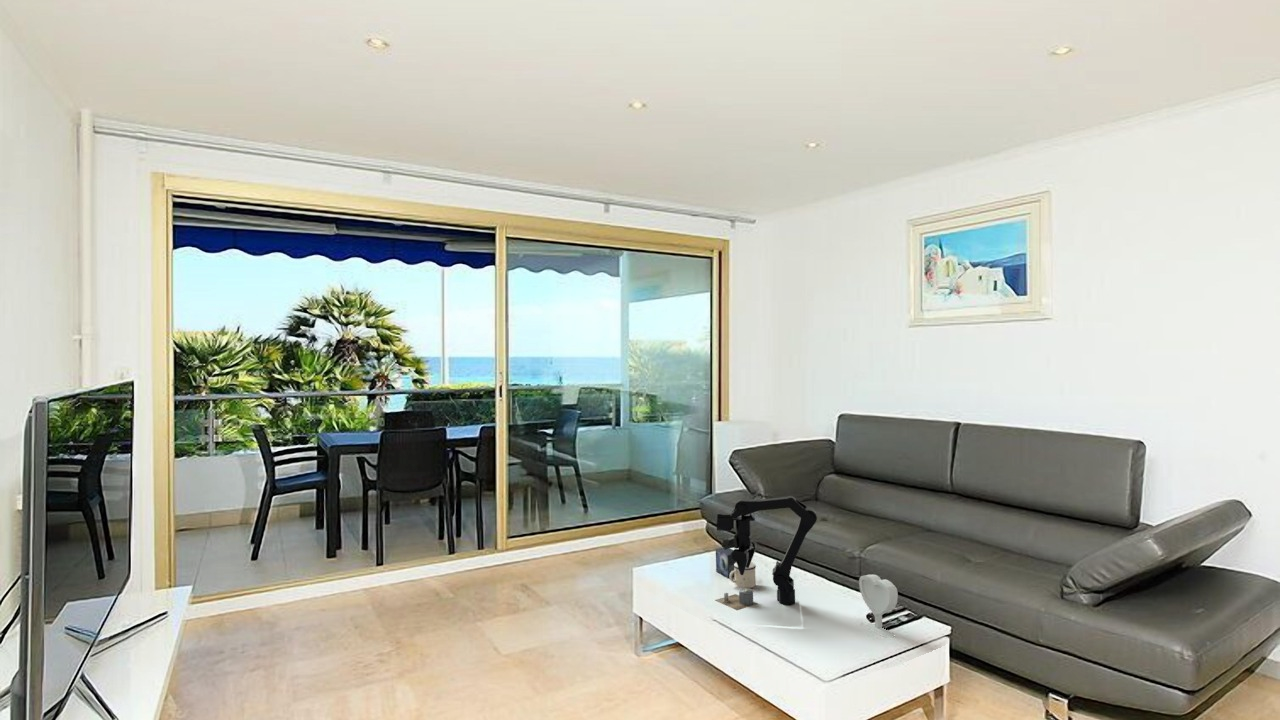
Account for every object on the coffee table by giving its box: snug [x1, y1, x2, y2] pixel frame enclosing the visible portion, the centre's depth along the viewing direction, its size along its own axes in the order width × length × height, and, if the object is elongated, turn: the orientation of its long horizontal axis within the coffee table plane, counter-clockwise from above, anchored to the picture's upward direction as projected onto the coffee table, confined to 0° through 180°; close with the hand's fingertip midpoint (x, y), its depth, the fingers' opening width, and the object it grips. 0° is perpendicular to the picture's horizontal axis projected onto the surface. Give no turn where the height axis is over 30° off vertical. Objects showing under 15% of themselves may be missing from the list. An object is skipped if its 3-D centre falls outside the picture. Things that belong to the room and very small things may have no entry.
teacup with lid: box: [729, 561, 757, 589], centre depth 284 cm, size 12×9×12 cm
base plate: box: [714, 592, 759, 611], centre depth 265 cm, size 13×11×4 cm
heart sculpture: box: [858, 574, 899, 638], centre depth 238 cm, size 16×5×18 cm, turn 21°
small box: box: [715, 547, 736, 579], centre depth 300 cm, size 11×6×10 cm, turn 25°
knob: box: [738, 588, 754, 605], centre depth 264 cm, size 5×5×5 cm
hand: (744, 571), depth 266 cm, fingers open, 9 cm apart
